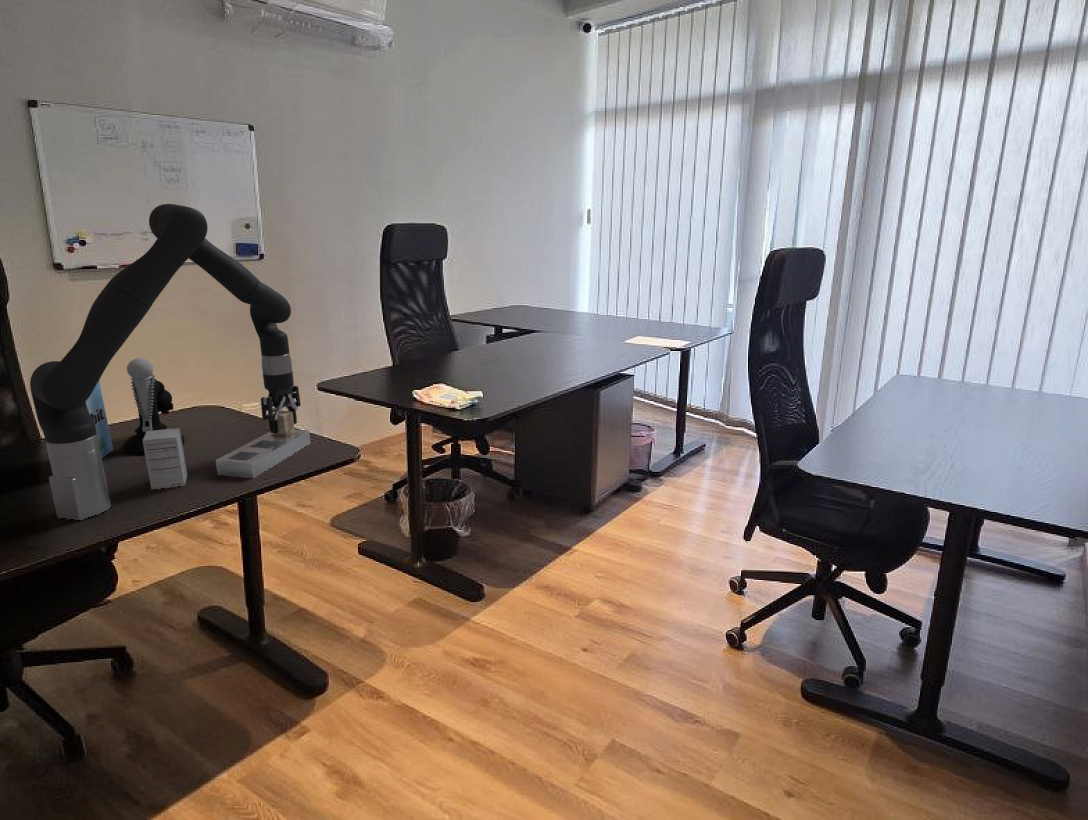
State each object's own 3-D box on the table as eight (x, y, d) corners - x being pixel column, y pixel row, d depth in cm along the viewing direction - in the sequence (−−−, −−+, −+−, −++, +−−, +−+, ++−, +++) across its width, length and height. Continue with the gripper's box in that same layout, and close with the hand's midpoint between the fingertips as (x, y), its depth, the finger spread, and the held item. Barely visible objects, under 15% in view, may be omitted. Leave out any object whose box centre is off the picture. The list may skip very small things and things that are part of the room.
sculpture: (115, 457, 187) (97, 365, 180) (140, 430, 209) (125, 348, 202) (177, 452, 191) (163, 362, 184) (195, 426, 213) (183, 345, 206)
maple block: (287, 450, 192) (283, 415, 189) (275, 449, 193) (270, 414, 190) (296, 446, 195) (292, 411, 192) (283, 444, 196) (279, 410, 193)
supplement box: (154, 479, 172) (146, 430, 168) (188, 475, 174) (180, 427, 171) (150, 490, 165) (141, 440, 162) (185, 486, 168) (177, 436, 164)
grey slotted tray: (253, 478, 172) (251, 463, 171) (217, 475, 175) (215, 459, 174) (310, 444, 197) (309, 430, 196) (278, 441, 199) (277, 428, 198)
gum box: (80, 476, 174) (61, 386, 168) (57, 477, 174) (38, 387, 167) (114, 449, 193) (98, 368, 186) (94, 450, 192) (77, 369, 186)
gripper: (274, 377, 180) (281, 437, 185) (304, 365, 194) (310, 421, 198) (248, 376, 182) (256, 435, 187) (280, 364, 195) (286, 419, 200)
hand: (284, 428), depth 192 cm, fingers open, 8 cm apart
